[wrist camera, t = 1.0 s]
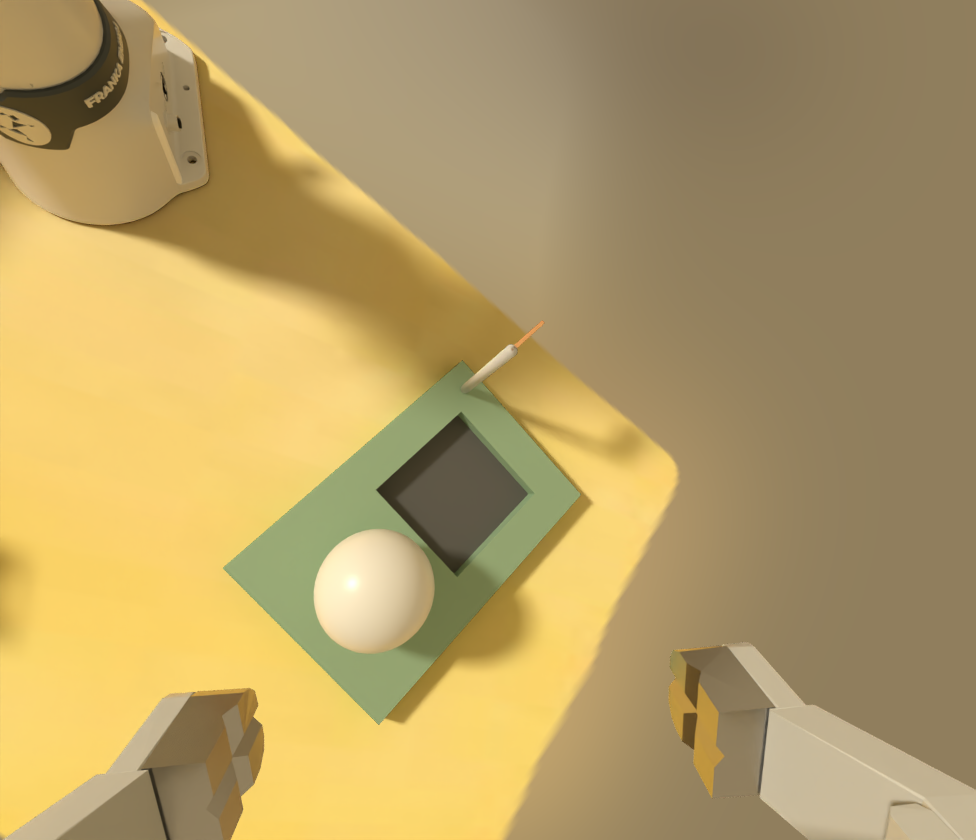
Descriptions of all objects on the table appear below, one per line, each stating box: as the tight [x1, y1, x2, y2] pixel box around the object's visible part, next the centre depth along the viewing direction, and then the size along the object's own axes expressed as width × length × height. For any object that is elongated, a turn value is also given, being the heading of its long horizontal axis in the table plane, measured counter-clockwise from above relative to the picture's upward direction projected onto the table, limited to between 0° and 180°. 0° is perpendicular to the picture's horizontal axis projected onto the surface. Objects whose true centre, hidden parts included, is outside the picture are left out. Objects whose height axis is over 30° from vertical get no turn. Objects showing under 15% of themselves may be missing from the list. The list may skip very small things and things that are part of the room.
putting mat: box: [223, 321, 581, 725], centre depth 43 cm, size 32×20×16 cm, turn 134°
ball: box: [314, 529, 435, 654], centre depth 41 cm, size 10×10×10 cm
